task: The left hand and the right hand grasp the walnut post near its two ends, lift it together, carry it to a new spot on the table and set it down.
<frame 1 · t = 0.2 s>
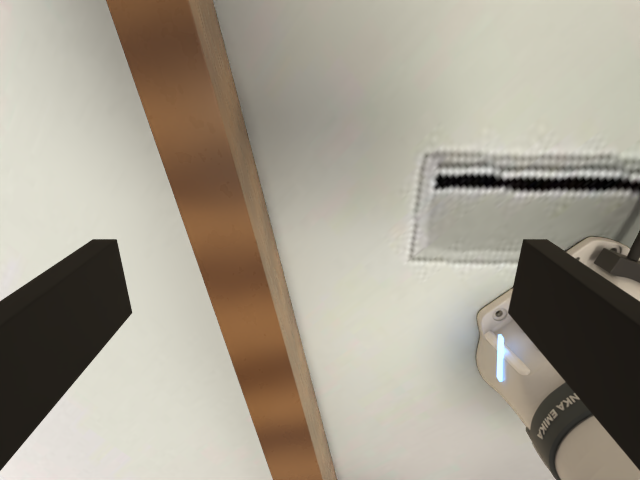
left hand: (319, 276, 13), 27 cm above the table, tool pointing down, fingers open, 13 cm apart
post: (272, 323, 45), on the table
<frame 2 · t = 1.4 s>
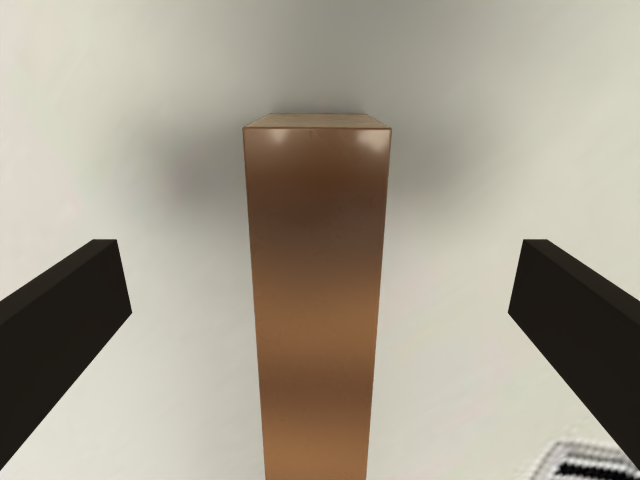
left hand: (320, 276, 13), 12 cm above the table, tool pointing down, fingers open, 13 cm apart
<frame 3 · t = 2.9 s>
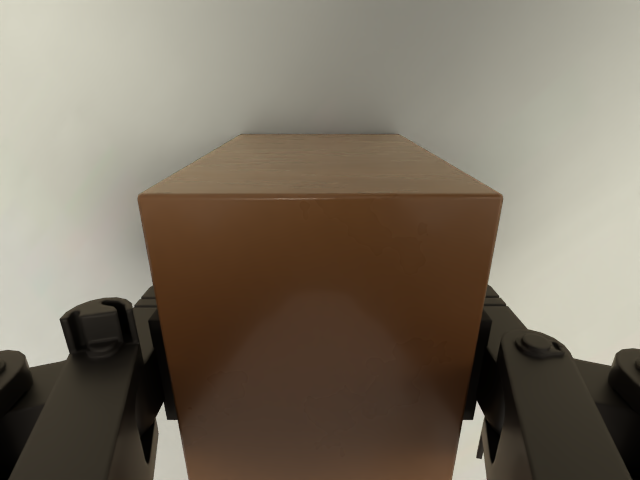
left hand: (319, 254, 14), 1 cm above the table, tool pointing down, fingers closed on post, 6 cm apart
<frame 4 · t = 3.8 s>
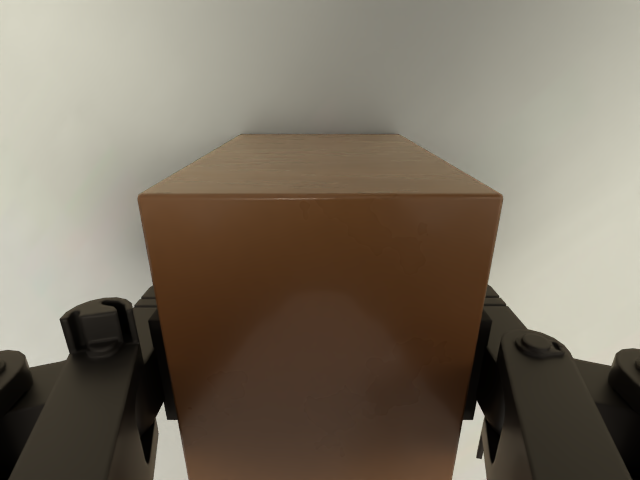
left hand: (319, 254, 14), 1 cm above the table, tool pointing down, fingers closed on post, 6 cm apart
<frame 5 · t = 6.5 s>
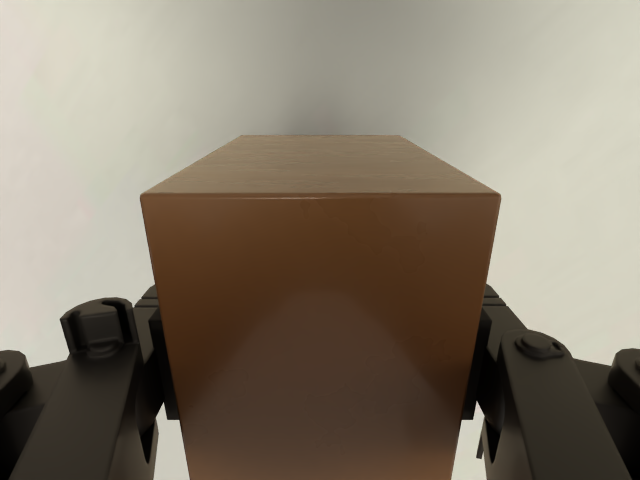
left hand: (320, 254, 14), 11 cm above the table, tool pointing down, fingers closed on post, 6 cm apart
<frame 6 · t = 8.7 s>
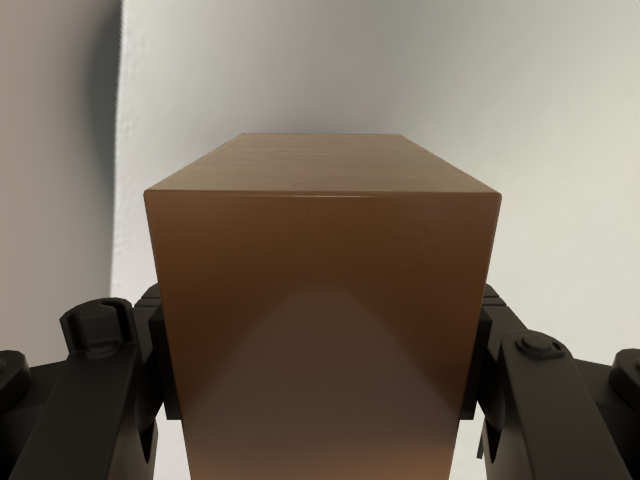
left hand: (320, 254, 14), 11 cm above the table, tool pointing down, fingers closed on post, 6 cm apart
when the left hand's fingers open (1 cm above the table, at t = 10.3 s): post stays where it is, on the table.
when the right hand's fingers open (4 cm above the table, at t = 10.5 s): post stays where it is, on the table.
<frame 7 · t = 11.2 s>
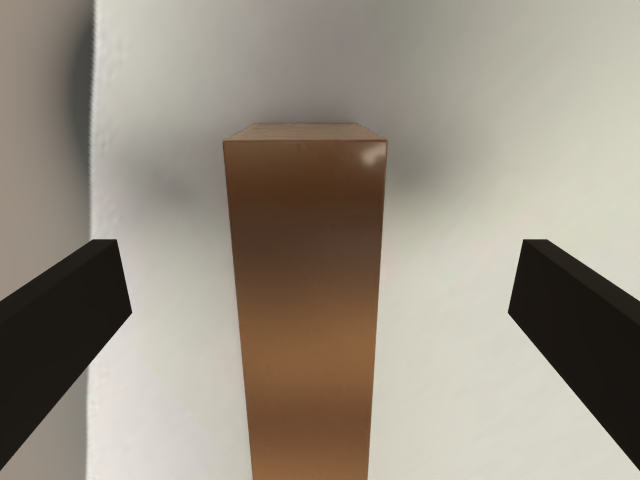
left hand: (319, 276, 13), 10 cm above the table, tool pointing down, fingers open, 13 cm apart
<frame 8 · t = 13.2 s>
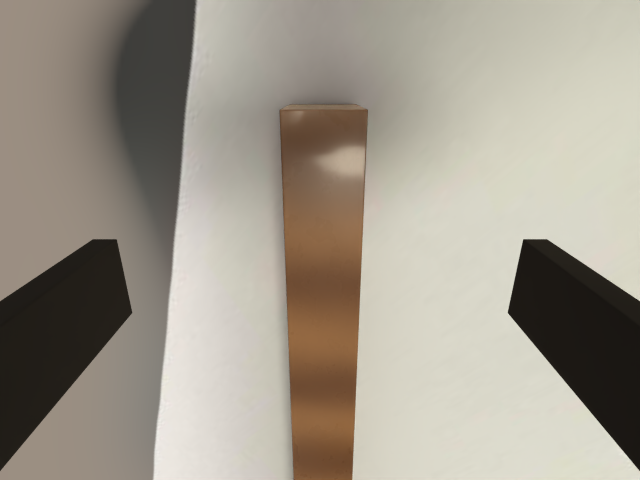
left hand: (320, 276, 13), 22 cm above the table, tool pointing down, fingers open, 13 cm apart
post: (322, 463, 47), on the table
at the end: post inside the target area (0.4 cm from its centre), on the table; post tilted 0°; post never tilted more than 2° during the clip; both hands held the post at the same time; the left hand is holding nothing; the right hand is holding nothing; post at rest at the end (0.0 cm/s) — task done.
